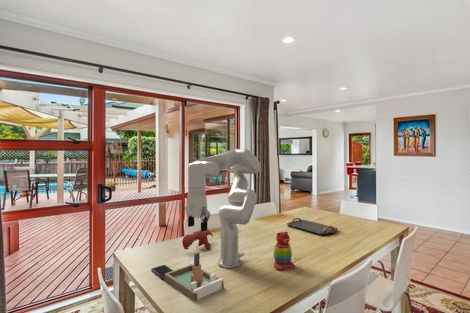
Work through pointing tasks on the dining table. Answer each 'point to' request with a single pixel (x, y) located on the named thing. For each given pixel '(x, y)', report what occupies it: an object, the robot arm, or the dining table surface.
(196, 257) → the kicker
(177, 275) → the pitch
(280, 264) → the stacking bear
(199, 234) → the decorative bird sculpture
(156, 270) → the phone
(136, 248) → the dining table surface
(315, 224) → the serving board
